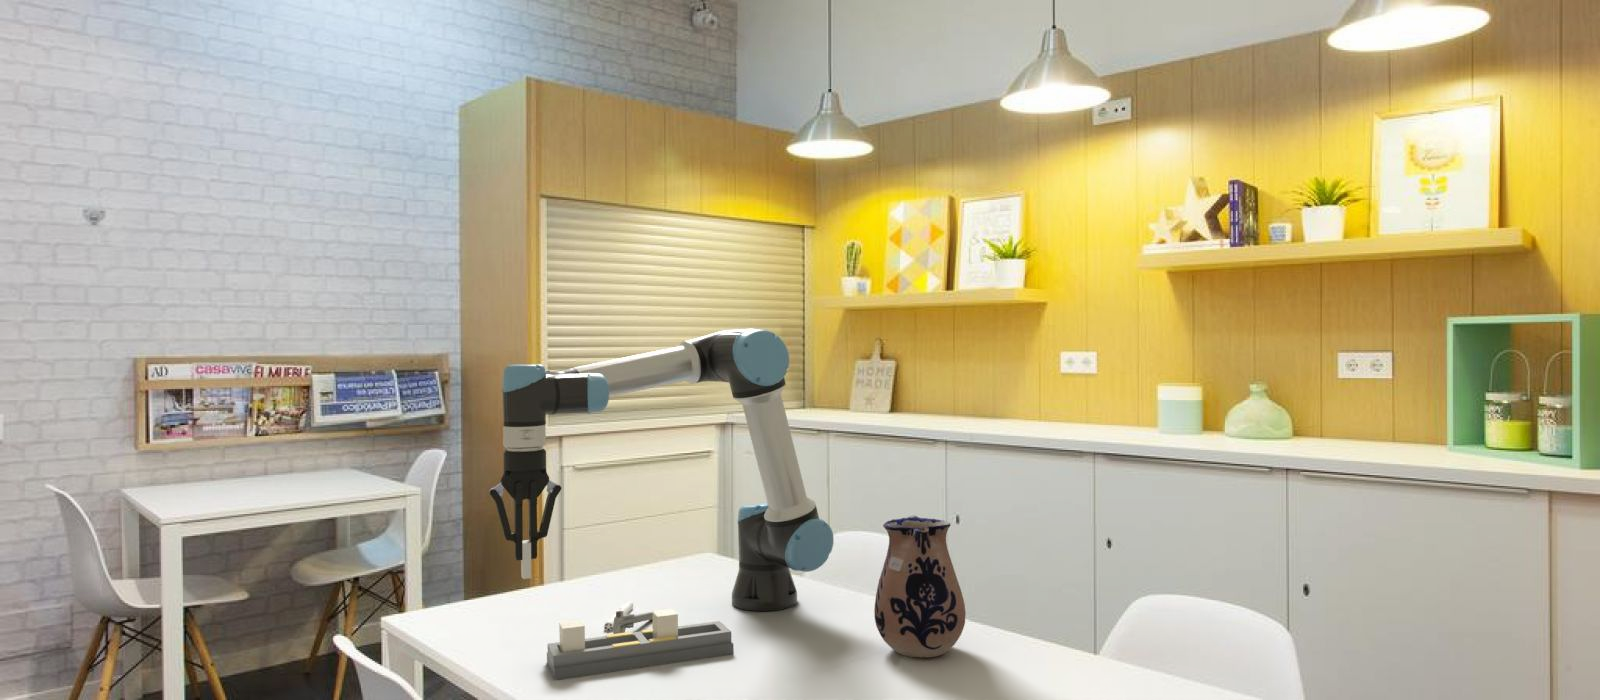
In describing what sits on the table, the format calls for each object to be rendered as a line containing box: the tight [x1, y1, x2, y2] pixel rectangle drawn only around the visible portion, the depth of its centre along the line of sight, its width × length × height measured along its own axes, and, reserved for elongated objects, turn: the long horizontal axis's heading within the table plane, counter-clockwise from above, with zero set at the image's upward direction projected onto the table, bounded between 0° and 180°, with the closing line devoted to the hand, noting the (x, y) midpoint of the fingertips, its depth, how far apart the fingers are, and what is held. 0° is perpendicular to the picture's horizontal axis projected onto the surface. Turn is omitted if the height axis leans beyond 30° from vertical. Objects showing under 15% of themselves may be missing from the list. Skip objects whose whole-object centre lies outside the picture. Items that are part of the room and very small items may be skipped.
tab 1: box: [558, 619, 586, 652], centre depth 178 cm, size 4×4×6 cm
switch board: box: [546, 620, 735, 681], centre depth 183 cm, size 34×10×4 cm, turn 113°
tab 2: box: [651, 608, 679, 639], centre depth 185 cm, size 4×4×6 cm
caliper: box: [612, 610, 653, 634], centre depth 203 cm, size 20×1×6 cm, turn 162°
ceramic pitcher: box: [874, 514, 967, 658], centre depth 187 cm, size 18×21×25 cm
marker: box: [603, 600, 634, 631], centre depth 210 cm, size 18×2×2 cm, turn 175°
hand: (526, 576), depth 175 cm, fingers closed
